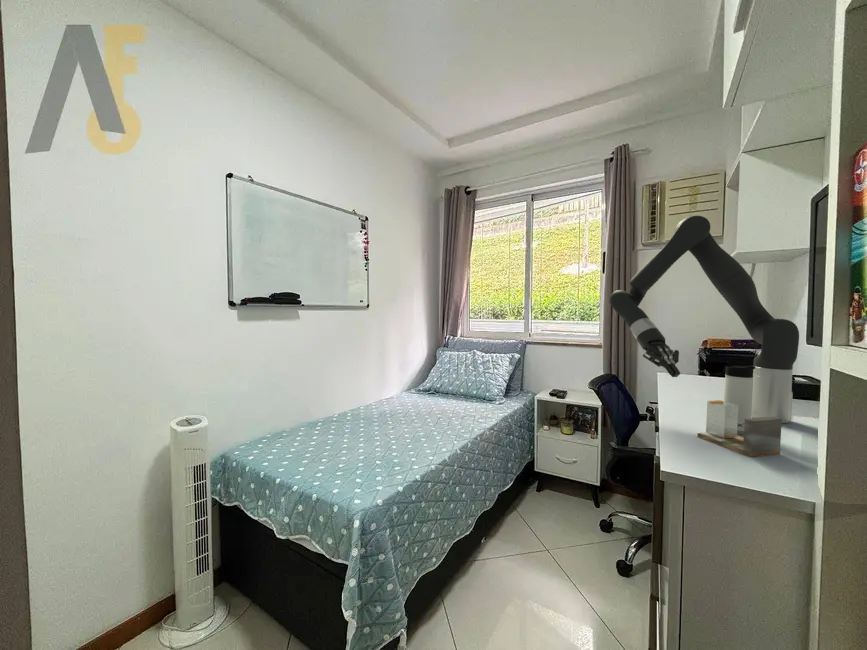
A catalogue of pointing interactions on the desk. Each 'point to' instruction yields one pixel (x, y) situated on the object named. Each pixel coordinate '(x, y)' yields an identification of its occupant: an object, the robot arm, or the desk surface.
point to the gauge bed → (753, 437)
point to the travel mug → (740, 392)
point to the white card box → (722, 419)
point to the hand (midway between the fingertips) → (676, 375)
